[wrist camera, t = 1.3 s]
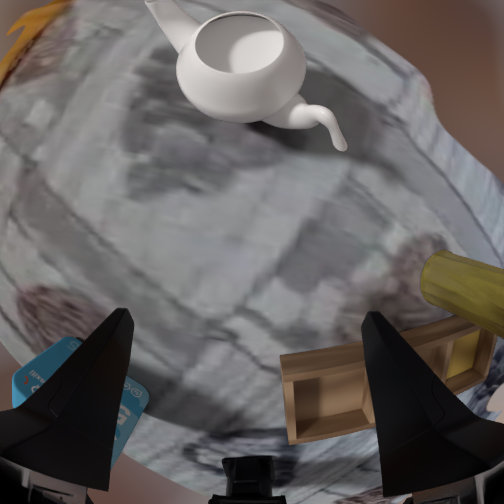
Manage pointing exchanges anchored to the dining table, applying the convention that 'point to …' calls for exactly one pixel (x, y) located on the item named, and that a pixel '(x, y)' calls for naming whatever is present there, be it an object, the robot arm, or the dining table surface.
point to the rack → (356, 382)
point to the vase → (465, 289)
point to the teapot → (242, 69)
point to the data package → (53, 358)
